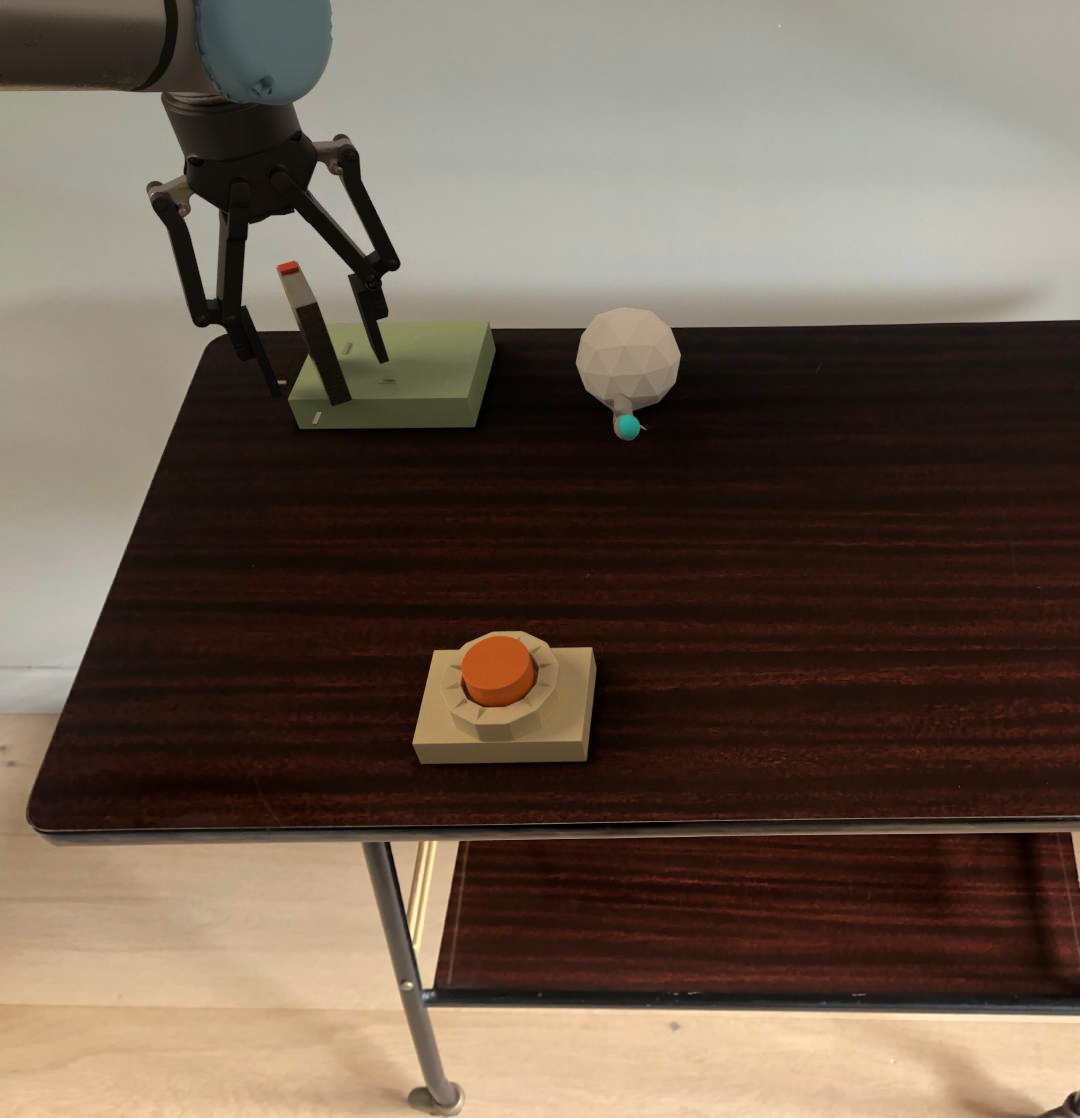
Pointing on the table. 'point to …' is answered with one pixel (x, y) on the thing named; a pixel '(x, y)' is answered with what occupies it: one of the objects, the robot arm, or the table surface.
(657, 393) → the perfume bottle
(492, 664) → the button
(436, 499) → the table surface
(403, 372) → the clamp block
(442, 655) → the box
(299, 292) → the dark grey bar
